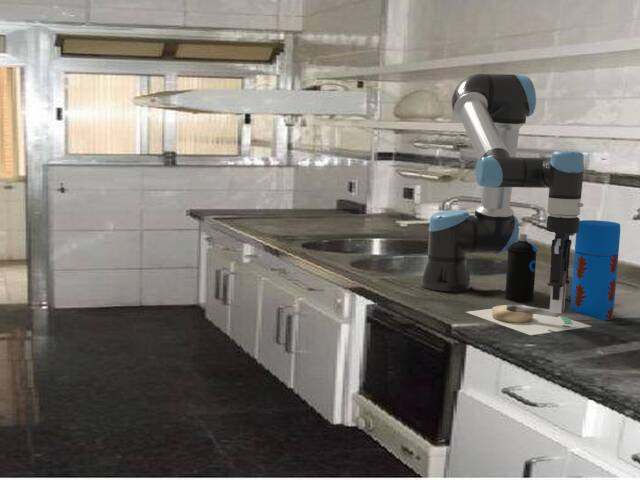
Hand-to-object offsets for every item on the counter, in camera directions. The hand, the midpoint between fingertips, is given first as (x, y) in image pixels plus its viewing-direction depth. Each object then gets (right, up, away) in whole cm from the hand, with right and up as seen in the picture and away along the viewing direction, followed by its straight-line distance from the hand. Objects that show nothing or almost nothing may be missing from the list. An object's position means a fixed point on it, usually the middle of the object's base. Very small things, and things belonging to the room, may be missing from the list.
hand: (556, 310), depth 190 cm
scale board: (-6, -4, +6) cm, 9 cm away
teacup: (+15, 0, +36) cm, 39 cm away
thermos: (+14, -3, +17) cm, 22 cm away
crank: (-6, -3, +4) cm, 8 cm away
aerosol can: (-2, -1, +28) cm, 28 cm away
